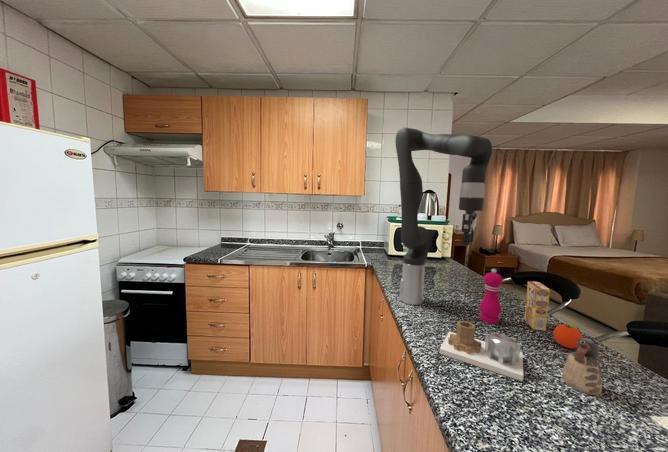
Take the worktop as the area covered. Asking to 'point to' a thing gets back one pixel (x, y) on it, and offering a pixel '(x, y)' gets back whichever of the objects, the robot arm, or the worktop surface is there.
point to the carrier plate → (483, 359)
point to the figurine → (584, 368)
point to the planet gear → (465, 338)
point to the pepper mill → (491, 298)
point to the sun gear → (502, 348)
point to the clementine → (567, 335)
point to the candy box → (537, 305)
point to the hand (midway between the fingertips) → (467, 243)
